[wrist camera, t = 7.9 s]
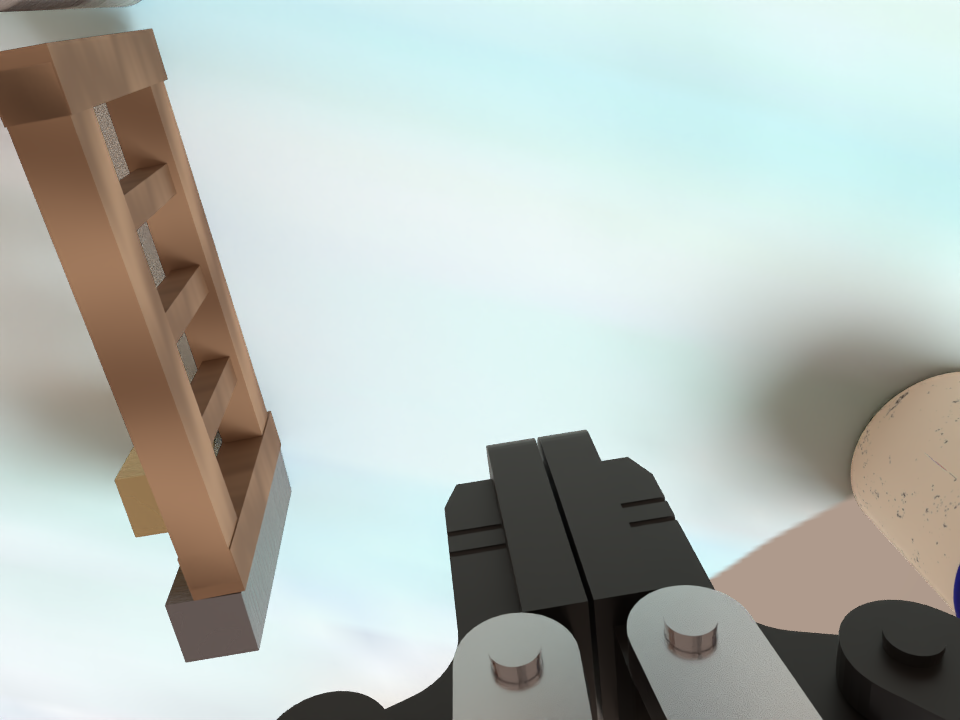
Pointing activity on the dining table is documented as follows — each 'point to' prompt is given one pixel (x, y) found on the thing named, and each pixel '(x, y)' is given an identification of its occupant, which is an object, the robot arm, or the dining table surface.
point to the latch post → (221, 618)
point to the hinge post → (61, 4)
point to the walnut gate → (148, 289)
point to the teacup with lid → (916, 479)
